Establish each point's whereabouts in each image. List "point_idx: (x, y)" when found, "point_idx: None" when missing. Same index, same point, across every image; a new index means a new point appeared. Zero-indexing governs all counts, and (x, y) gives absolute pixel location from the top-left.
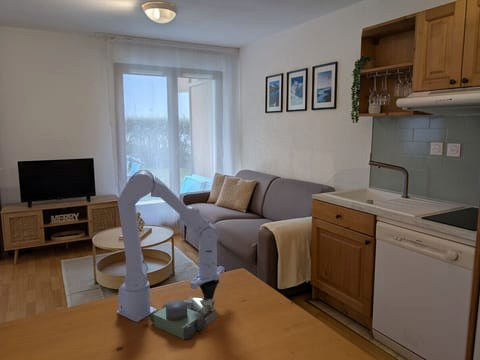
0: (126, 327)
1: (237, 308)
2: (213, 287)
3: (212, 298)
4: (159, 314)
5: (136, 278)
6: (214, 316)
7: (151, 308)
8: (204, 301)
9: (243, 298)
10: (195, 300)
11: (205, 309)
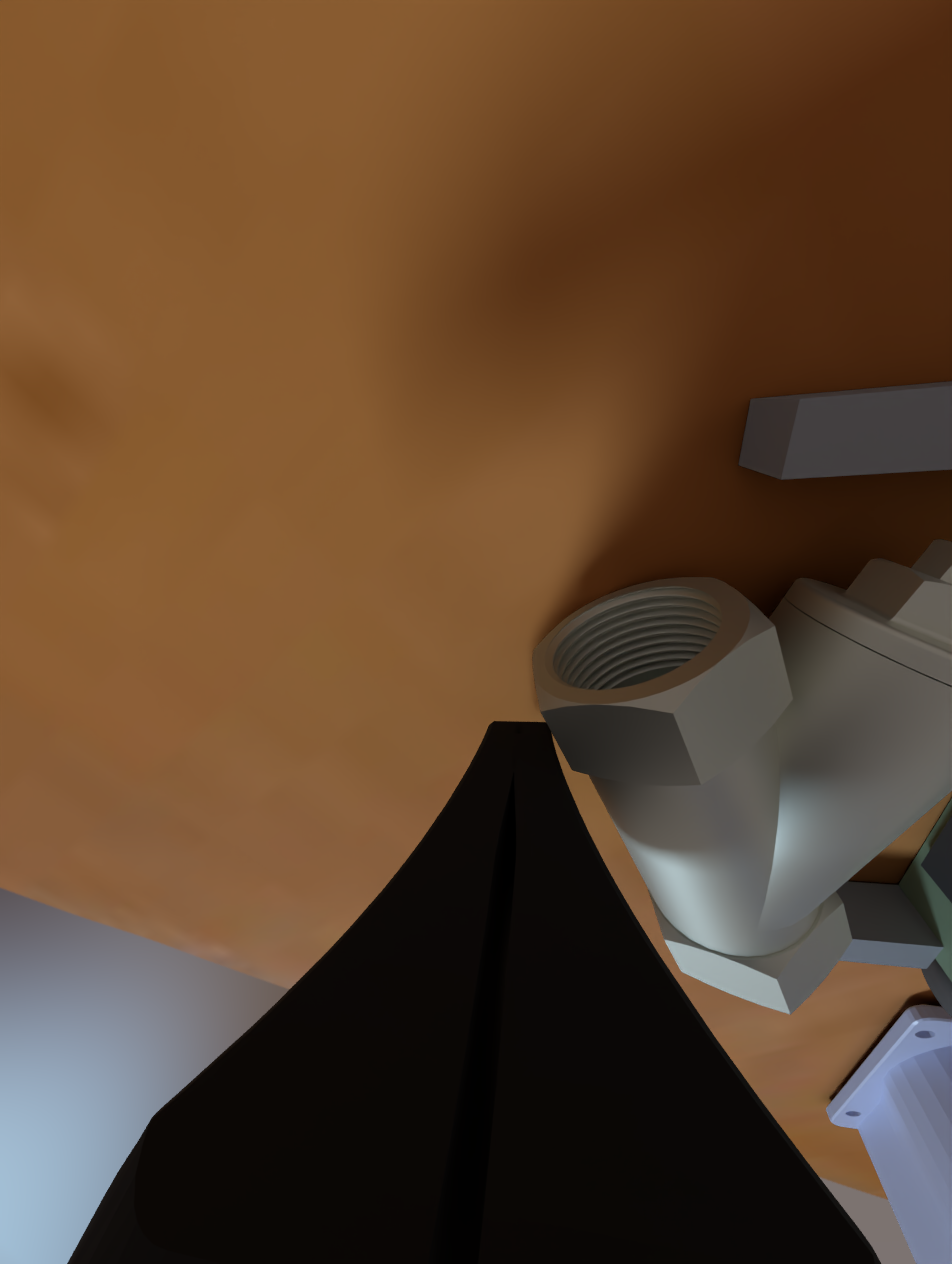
0: None
1: (281, 288)
2: (474, 1016)
3: (492, 749)
4: None
5: None
6: (883, 388)
7: (919, 1045)
8: (759, 792)
9: (28, 449)
10: (808, 908)
11: (925, 632)
